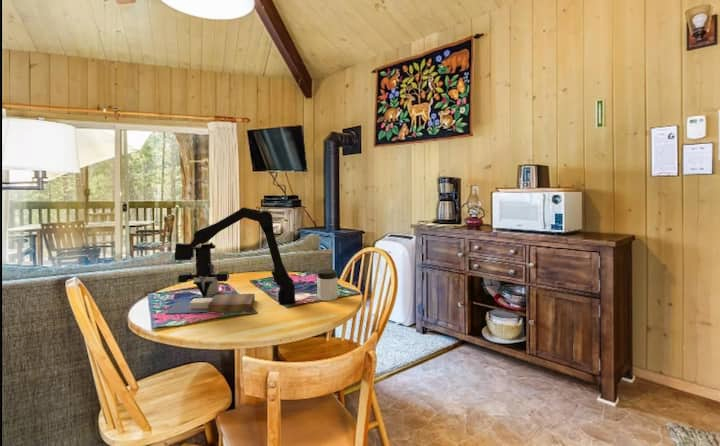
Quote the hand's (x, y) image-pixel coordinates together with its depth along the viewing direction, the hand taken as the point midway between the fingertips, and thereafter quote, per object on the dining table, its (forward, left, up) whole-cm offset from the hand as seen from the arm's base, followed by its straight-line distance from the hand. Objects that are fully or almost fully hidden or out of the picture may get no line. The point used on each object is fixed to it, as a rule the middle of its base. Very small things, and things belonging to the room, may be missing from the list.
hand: (204, 297), depth 171 cm
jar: (-50, -7, -4) cm, 50 cm away
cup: (+3, -23, -4) cm, 24 cm away
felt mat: (+5, 0, -4) cm, 7 cm away
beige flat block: (+1, -1, -4) cm, 4 cm away
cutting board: (-11, 0, -4) cm, 12 cm away
